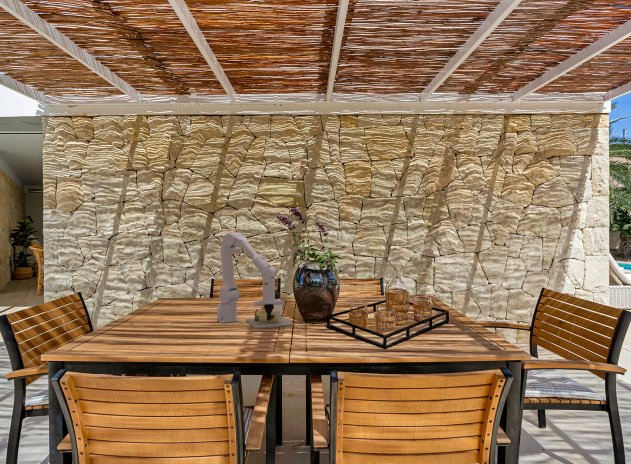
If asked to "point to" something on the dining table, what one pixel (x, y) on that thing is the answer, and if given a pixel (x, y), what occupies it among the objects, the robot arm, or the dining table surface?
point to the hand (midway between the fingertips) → (268, 320)
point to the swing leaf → (264, 317)
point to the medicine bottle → (277, 307)
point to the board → (269, 323)
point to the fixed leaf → (265, 313)
